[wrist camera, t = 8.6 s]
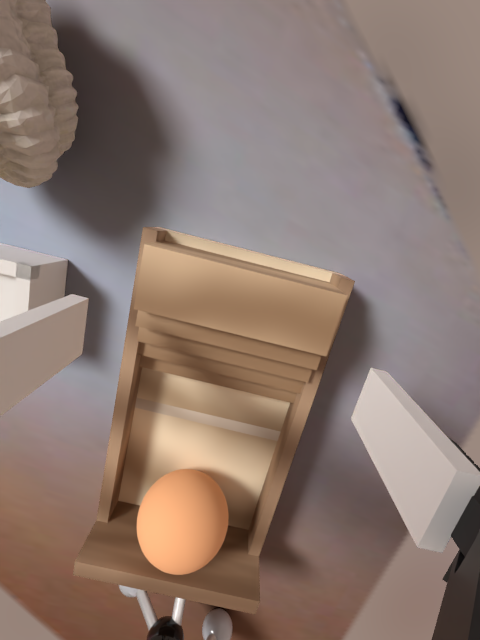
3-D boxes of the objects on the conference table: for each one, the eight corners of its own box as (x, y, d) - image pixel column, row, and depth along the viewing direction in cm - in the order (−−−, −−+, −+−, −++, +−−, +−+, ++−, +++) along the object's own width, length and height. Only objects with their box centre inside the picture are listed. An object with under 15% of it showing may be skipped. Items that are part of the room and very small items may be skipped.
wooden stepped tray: (158, 227, 21) (122, 227, 15) (340, 273, 21) (374, 291, 15) (112, 498, 27) (72, 575, 21) (254, 530, 27) (255, 614, 22)
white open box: (-8, 240, 22) (-61, 243, 18) (68, 259, 22) (31, 266, 18) (-11, 312, 23) (-60, 328, 19) (61, 329, 23) (25, 349, 20)
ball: (150, 490, 26) (157, 442, 23) (224, 507, 26) (241, 461, 23) (119, 580, 21) (123, 534, 18) (211, 600, 21) (231, 558, 18)
